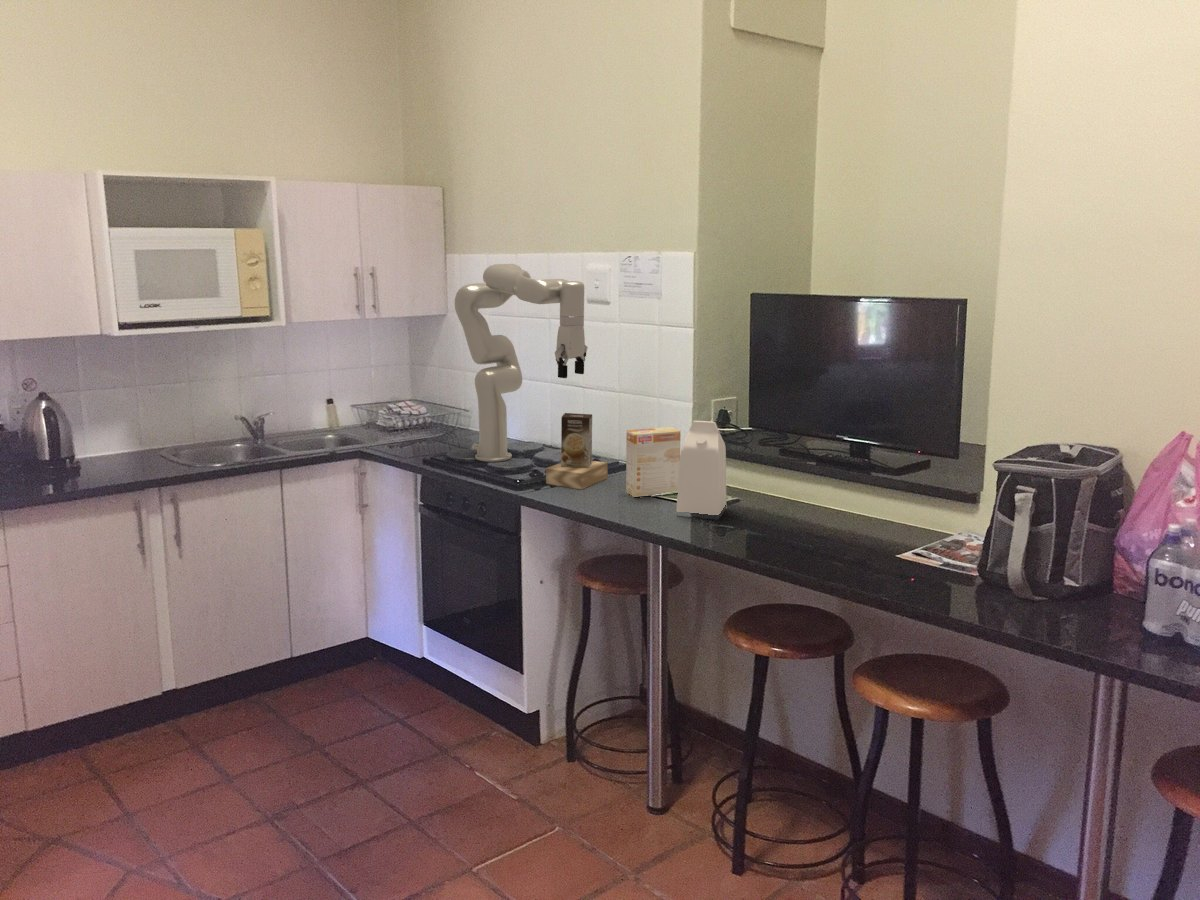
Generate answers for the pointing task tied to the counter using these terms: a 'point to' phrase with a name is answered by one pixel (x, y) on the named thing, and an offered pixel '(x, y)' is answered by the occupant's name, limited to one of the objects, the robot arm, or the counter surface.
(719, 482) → the milk
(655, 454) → the coffeecake box
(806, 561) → the counter surface
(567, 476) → the oak block
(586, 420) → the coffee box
